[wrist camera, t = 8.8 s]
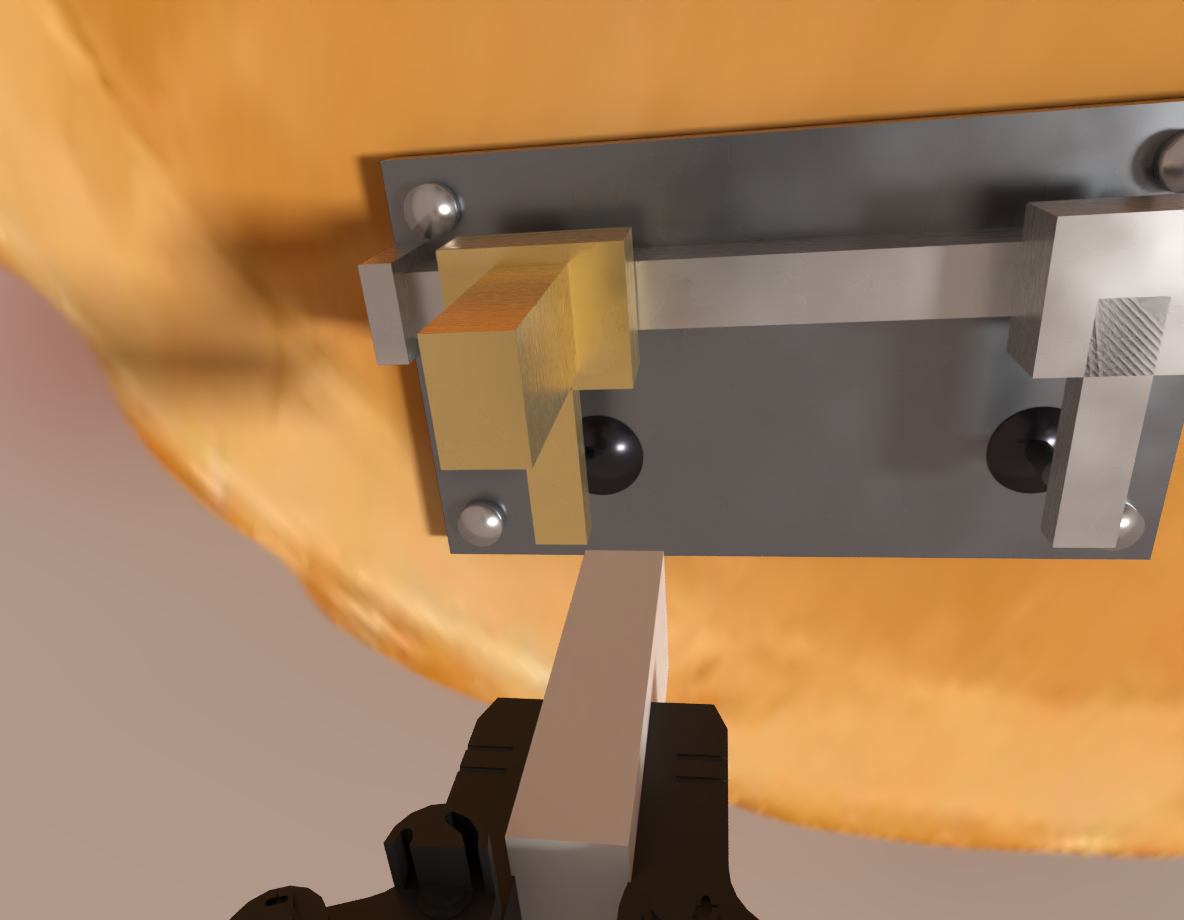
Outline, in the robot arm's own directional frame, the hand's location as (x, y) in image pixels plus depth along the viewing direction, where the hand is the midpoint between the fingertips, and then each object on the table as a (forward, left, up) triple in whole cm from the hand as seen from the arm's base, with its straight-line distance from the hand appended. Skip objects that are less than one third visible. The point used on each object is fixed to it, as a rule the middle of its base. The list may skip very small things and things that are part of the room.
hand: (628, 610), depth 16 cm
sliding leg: (-1, -3, -12) cm, 12 cm away
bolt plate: (-1, +4, -13) cm, 14 cm away
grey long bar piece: (-1, +4, -12) cm, 13 cm away
